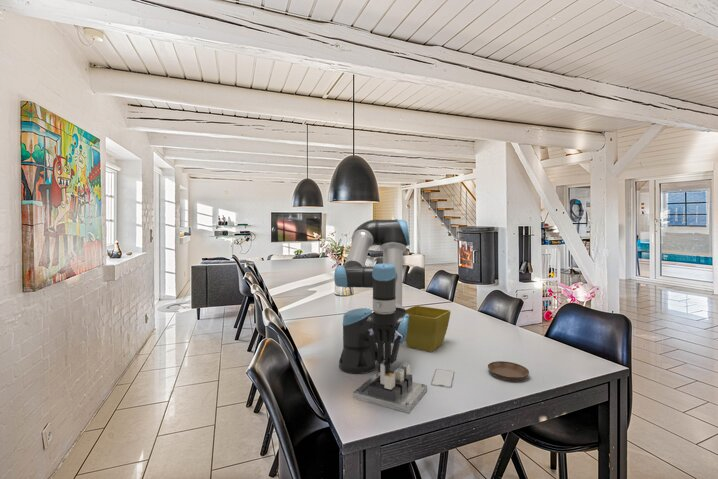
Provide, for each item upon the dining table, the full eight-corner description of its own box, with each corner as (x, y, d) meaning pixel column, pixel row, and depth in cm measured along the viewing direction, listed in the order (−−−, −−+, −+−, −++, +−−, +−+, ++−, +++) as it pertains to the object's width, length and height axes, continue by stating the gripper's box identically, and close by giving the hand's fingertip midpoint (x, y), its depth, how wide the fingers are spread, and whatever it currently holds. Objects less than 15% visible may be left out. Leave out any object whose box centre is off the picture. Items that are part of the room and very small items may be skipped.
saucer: (538, 380, 134) (538, 373, 134) (504, 386, 130) (504, 378, 129) (510, 365, 148) (510, 359, 148) (479, 370, 144) (479, 363, 144)
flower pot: (415, 337, 185) (415, 304, 184) (451, 344, 174) (451, 309, 173) (397, 347, 170) (397, 312, 169) (435, 356, 159) (435, 318, 158)
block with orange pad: (384, 388, 116) (384, 375, 116) (388, 384, 119) (388, 372, 119) (391, 389, 115) (391, 376, 115) (395, 386, 118) (395, 373, 118)
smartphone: (454, 371, 142) (451, 387, 128) (454, 372, 142) (451, 389, 128) (435, 368, 144) (430, 384, 130) (435, 370, 144) (430, 386, 130)
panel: (353, 398, 121) (353, 371, 120) (375, 378, 136) (375, 355, 135) (409, 413, 111) (409, 384, 111) (426, 390, 126) (427, 365, 125)
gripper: (361, 311, 117) (361, 382, 118) (397, 316, 111) (397, 391, 111) (371, 306, 123) (371, 374, 124) (407, 311, 117) (407, 382, 118)
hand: (384, 382), depth 118 cm, fingers closed
